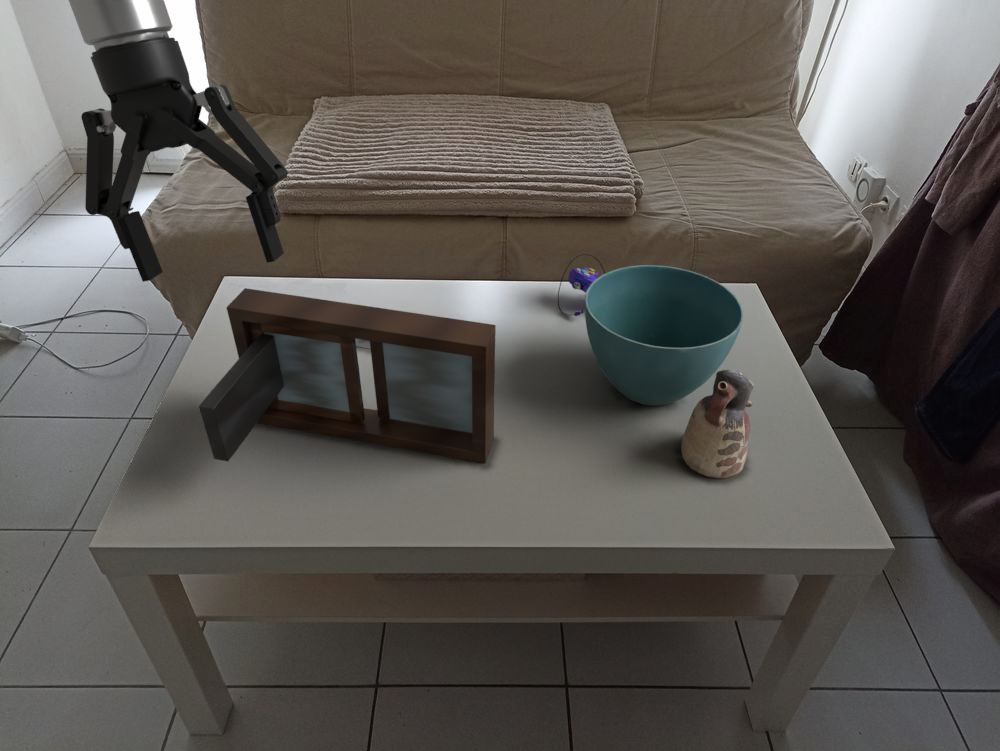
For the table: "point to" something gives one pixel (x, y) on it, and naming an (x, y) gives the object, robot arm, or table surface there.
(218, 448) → the sliding pane
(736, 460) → the figurine
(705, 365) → the teal bowl
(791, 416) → the table surface
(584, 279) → the game controller
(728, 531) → the table surface
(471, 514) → the table surface
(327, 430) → the window frame
